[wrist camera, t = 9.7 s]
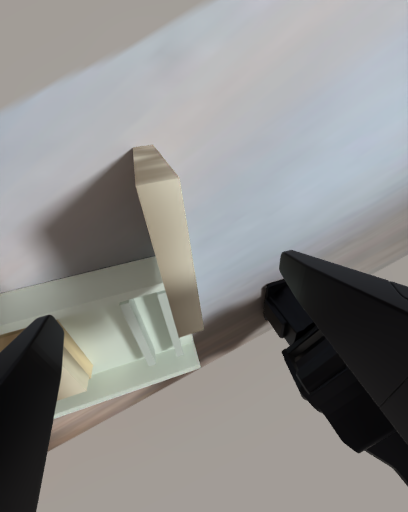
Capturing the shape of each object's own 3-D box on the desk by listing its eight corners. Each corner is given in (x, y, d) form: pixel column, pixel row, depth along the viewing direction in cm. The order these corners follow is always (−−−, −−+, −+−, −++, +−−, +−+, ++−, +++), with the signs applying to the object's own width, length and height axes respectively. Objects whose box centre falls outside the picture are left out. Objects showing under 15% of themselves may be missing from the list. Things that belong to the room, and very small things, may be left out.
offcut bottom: (51, 312, 19) (46, 325, 17) (93, 365, 24) (91, 378, 22) (-27, 332, 17) (-39, 349, 16) (34, 383, 23) (29, 398, 21)
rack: (173, 251, 20) (181, 277, 17) (192, 338, 28) (200, 367, 25) (-50, 305, 17) (-92, 350, 14) (44, 386, 25) (32, 426, 22)
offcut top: (55, 336, 18) (50, 352, 17) (89, 376, 22) (86, 391, 21) (-11, 355, 17) (-21, 373, 16) (37, 392, 21) (31, 409, 20)
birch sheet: (152, 144, 15) (179, 177, 7) (173, 241, 19) (204, 329, 11) (132, 147, 15) (135, 185, 7) (158, 245, 19) (178, 337, 11)
